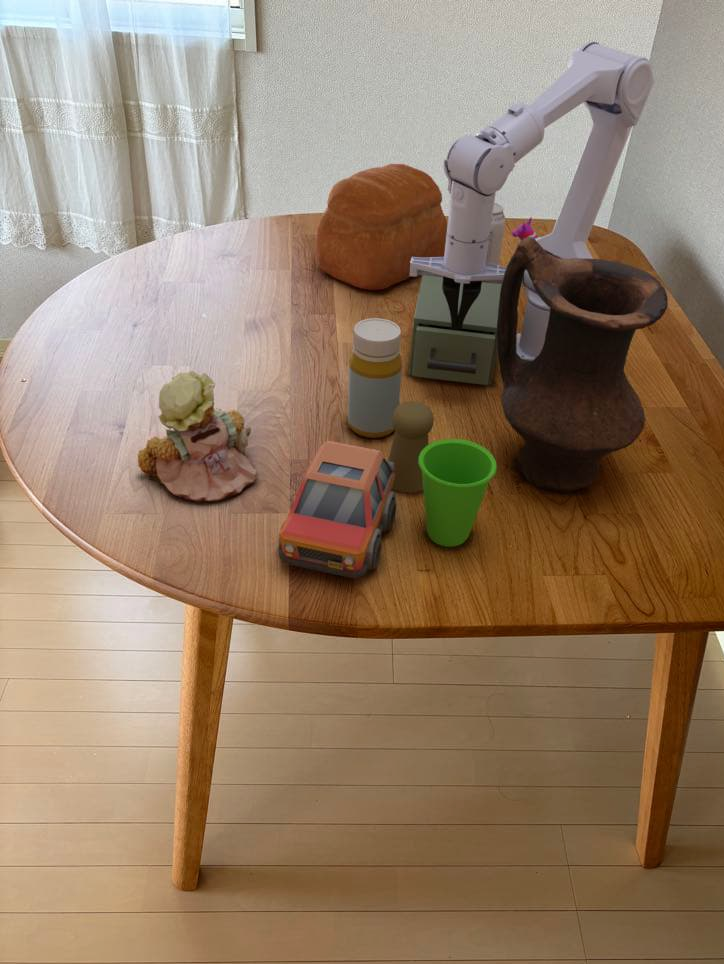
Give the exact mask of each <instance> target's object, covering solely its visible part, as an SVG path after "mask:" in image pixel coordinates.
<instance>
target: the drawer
mask: <svg viewBox="0 0 724 964" xmlns="http://www.w3.org/2000/svg"><path fill="white" fill-rule="evenodd" d="M494 341H495V335H490V332H487V331H478V330H470V329H461V331H458V330H452V329H451V327H444V326H436V325H427V324H423V325H422V327H421V326H417V330H416V341H415V352H414V363H413V373H412V375H411V376H412V377H415V378H423V379H433V380H440V381H441V380H442V381H448V382H449V381H450V382H458V383H465V384H466V383H468V384H473V385H483V386H489V385H488V380H489V373H490V367H491V360H492V354H493V348H494Z"/></svg>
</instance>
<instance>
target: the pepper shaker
mask: <svg viewBox="0 0 724 964" xmlns="http://www.w3.org/2000/svg"><path fill="white" fill-rule="evenodd" d="M434 416H435V415H434V413H433V411H432V409H431V407H429V406H428V405H427V404H425V403H423V402H420V401H414V400H410V401H409V400H408V401H404V402H401V403H399V405H398V406H397V407H396V409H395V410H394V412H393V416H392V424H393V427H394V429H395V430H394V434H393V439H392V441H391V447H390V450H389V455H388V460H387V461H390V462H394V473H395V478H394V483H393V487H392V490H394V491H397V492H400V493H404V494H405V493H407V494H412V493H413V494H415V493H419V492H421V491H424V490H423V478H422V470H421V468H420V465H419V463H418V462H419V455H420V453H421V451H422V450H423V449H424V448H425V447H426V446H427V445H429V444H430V443H429V434H430V433H431V431H432V429H433V427H434V421H435V417H434Z"/></svg>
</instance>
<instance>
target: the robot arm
mask: <svg viewBox="0 0 724 964" xmlns="http://www.w3.org/2000/svg"><path fill="white" fill-rule="evenodd" d="M654 83H655V80H654V75H653V67H652V65H651V62H650V60H649V58H647V57H645V56H640V55H639V56H637V55H634V54H631V53H628V52H625V51H621V50H618V49H615V48H612V47H609V46H606V45H603V44H600V43H599V42H597V41H594V40H590V41H587V42H585V43H583V44H582V46H580V48H579V49H578V50H576V51H574V52H573V53H572V54H571V56H570V58H569V61H568V65H567V69H566V70H564V72H563V73H562V74H561V75H560V76H558V77H557V79H555V81H553V82H552V83H550V85H549V86H548V87H547V88H546V89H545V90H544V91H543V92H542V93H540V94H539V95H538V96H537V97H536V98H535V99H534V100H533V101H532V102H531V103H530V104H528V103H526V102H525V103H524V102H518V103H512V104H511V105H509V106H508V107H507V109H506V111H505V112H504V113H502V114H501V115H500V116H498V117H497V118H496V119H494V120H493V121H492V122H491V123H489V124H488V125H487V126H485V127H484V128H483V129H482V130H480V131H479V132H478V133H476V134H475V135H472V134H470V135H468V134H467V135H464V136H462V137H460V138H458V139H456V140H455V141H454V142H453V143H452V145H450V148H449V150H448V152H447V155H446V158H445V159H444V160H443V170H444V174H445V176H446V178H447V183H448V185H447V191H448V193H449V195H450V198H449V206H448V207H449V209H448V218H447V224H448V225H447V235H446V244H445V253H444V257H427V258H420V257H412V259H411V264H410V276H411V277H413V278H414V277H418V276H423V275H424V276H433V277H442V278H443V283H442V289H443V293H444V295H445V298H446V300H447V303H448V307H449V310H450V315H451V325H452V326H451V329H452V330H458V331H461V328H462V325H463V322H464V319H465V317H466V315H467V313H468V311H469V309H470V307H471V306H472V304H473V303H474V301H475V300H476V299H477V297H478V296H479V294H480V292H481V284H482V282H485V283H493V284H502V281H503V277H504V273H505V270H506V268H507V266H504V265H500V264H499V265H496V264H493V263H489V262H486V258H487V251H488V244H489V236H490V230H491V222H492V215H493V208H494V203H495V201H496V193H497V192H498V191H500V190H501V189H502V188H503V187H504V185H505V183H506V181H507V179H508V178H509V175H510V174H511V172H513V170H514V168H515V167H516V165H515V164H517V163H518V162H519V161H521V159H523V158H524V157H525V156H527V155H528V154H529V153H531V151H533V150H535V148H536V147H537V146H539V145H540V144H541V143H542V142H543V140H544V137H545V129H546V128H548V127H549V126H550V125H552V124H553V123H555V122H556V121H558V120H559V119H561V118H562V117H563V116H566V115H567V114H568V113H570V112H572V111H573V110H574V109H576V108H577V107H579V106H580V105H582V104H583V105H584V106H585V107H586V109H587V110H588V111H589V114H590V117H591V120H592V127H591V129H590V131H589V135H588V137H587V139H586V143H585V145H584V147H583V150H582V153H581V156H580V158H579V161H578V163H577V166H576V169H575V172H574V174H573V177H572V179H571V182H570V184H569V186H568V190H567V192H566V195H565V197H564V200H563V203H562V206H561V208H560V210H559V211H560V212H559V213H558V216H557V218H556V221H555V224H554V226H553V229H552V232H551V233H548V234H546V235H544V236H540V237H541V238H539V239H537V240H536V241H537V242H538V243H539V244H540V246H541V247H542V248H543V249H544V250H545V251H546V252H547V253H548V254H550V255H552V256H554V257H556V258H558V259H561V258H563V259H574V258H585V259H594V258H593V256H592V254H591V252H590V250H589V248H588V246H587V242H588V239H589V236H590V234H591V232H592V229H593V226H594V224H595V221H596V219H597V217H598V214H599V211H600V209H601V206H602V204H603V201H604V198H605V196H606V194H607V191H608V189H609V185H610V184H611V182H612V179H613V176H614V174H615V171H616V168H617V166H618V163H619V160H620V158H621V156H622V154H623V151H624V148H625V147H626V143H627V141H628V139H629V136H630V134H631V131H632V128H633V127H634V126H637V125H638V122H639V121H640V117H641V116H642V113H643V110H644V108H645V106H646V103H647V100H648V98H649V96H650V93H651V90H652V88H653V85H654ZM553 254H554V255H553ZM555 255H557V256H559V257H561V258H559V257H557V256H555ZM461 283H463V291H462V299H461V304H460V309H459V314H458V301H459V292H460V284H461ZM521 286H523V288H524V292H523V295H525V296H526V303H525V309H524V315H523V320H522V325H521V326H522V327H521V332H520V333H519V332H518V333H516V343H515V346H516V353H517V354H518V355H519V356H520V358H521V359H522V360H524V361H529V362H531V361H533V360H534V359H535V358H536V357H537V356H538V355H539V354H540V352H541V350H542V348H543V345H544V342H545V334H546V330H547V326H548V321H549V315H550V307H548V306H547V305H546V303H545V302H544V301H543V300H542V299H541V298H540V297H539V295H538V294H537V292H536V290H535V288H534V286H533V283H532V280H531V279H530V277H529V274H528V271H527V270H525V271H524V275H523V279H522V283H521Z"/></svg>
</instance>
